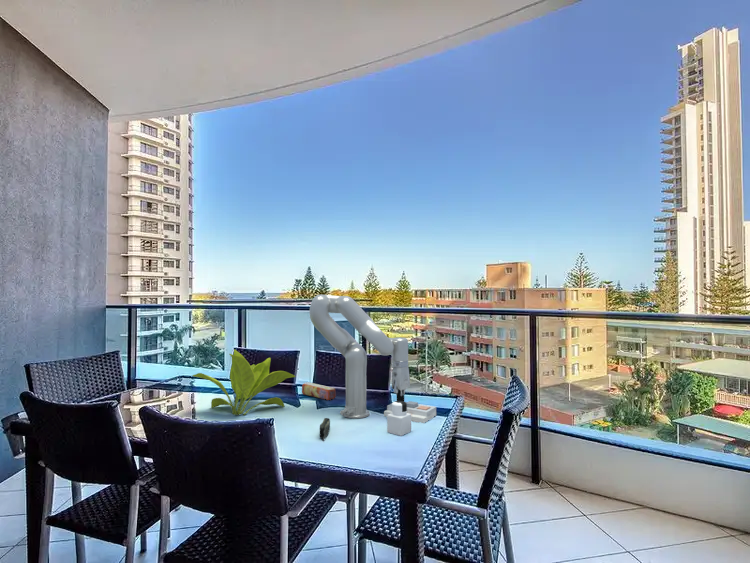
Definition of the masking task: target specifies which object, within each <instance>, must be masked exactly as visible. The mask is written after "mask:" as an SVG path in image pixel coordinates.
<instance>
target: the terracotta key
mask: <svg viewBox="0 0 750 563" xmlns="http://www.w3.org/2000/svg"><path fill="white" fill-rule="evenodd" d="M417 409H421V410H428V409H430V407H426V406H420V407H418V408H417Z"/></svg>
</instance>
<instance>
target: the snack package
mask: <svg viewBox="0 0 750 563" xmlns="http://www.w3.org/2000/svg"><path fill="white" fill-rule="evenodd" d="M301 393H302V395H304V396H309V397H314V398H318V399H321V400H325V399H326V400H325V401H328V400H330V401H332V400H331V399H333V400H335V399H336V396H337V393H336V388H335V387H331V386H330V387H329V386H326V385H322V384H318V383H314V382H310V381H307V382H304V383H302V386H301ZM334 398H335V399H334Z"/></svg>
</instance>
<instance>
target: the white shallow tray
mask: <svg viewBox="0 0 750 563" xmlns="http://www.w3.org/2000/svg"><path fill="white" fill-rule="evenodd" d="M405 402H406V403H407V402H408V401H405ZM420 406H426V407H430V409H428V410H421V409H417V408H418V407H420ZM418 407H416V408H409V407H407V413H409V414H411V422H415V423H419V422H421V423H420V424H425V422H426V423H427V422H428V420H429V421H430V420H432V419H433V418H435V417H436V416H437V406H434V405H427V404H420V403H418ZM390 413H392V403H390V404H388V405H386V410H384V411H383V417H387V415H388V414H390ZM434 416H435V417H434Z"/></svg>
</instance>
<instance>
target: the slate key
mask: <svg viewBox="0 0 750 563" xmlns="http://www.w3.org/2000/svg"><path fill="white" fill-rule="evenodd" d="M406 402H407V407H409V408H416V407H418V404H419V402H417V401H411V400H409V401H406Z"/></svg>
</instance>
